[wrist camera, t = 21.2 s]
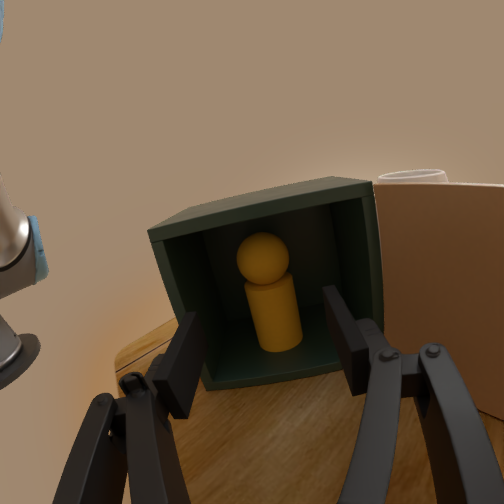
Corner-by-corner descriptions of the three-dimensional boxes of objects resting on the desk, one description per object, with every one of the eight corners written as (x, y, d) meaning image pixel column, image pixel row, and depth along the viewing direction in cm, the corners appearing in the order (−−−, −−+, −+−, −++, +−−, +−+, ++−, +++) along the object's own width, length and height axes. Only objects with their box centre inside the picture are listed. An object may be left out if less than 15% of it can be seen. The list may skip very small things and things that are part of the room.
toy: (261, 357, 25) (232, 245, 22) (255, 333, 29) (229, 234, 26) (309, 344, 25) (289, 231, 22) (297, 322, 30) (277, 223, 27)
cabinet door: (419, 330, 23) (414, 173, 19) (556, 379, 9) (597, 184, 5) (383, 363, 21) (372, 184, 17) (538, 435, 7) (615, 201, 3)
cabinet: (383, 358, 21) (372, 181, 17) (206, 391, 23) (146, 230, 19) (349, 300, 33) (331, 176, 29) (222, 325, 35) (188, 207, 31)
